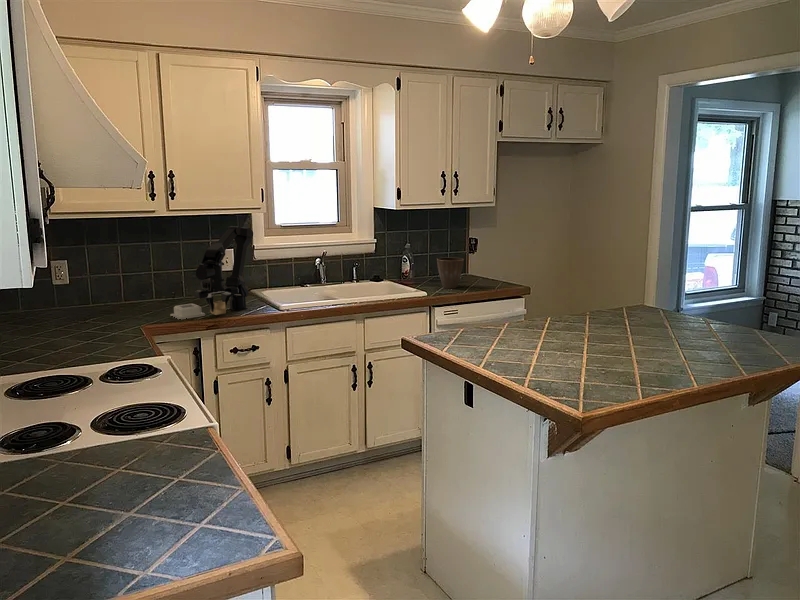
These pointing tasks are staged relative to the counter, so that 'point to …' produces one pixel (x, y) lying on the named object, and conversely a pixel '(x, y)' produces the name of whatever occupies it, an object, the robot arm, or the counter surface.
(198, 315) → the base
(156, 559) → the counter surface
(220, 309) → the block
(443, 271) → the plant pot
